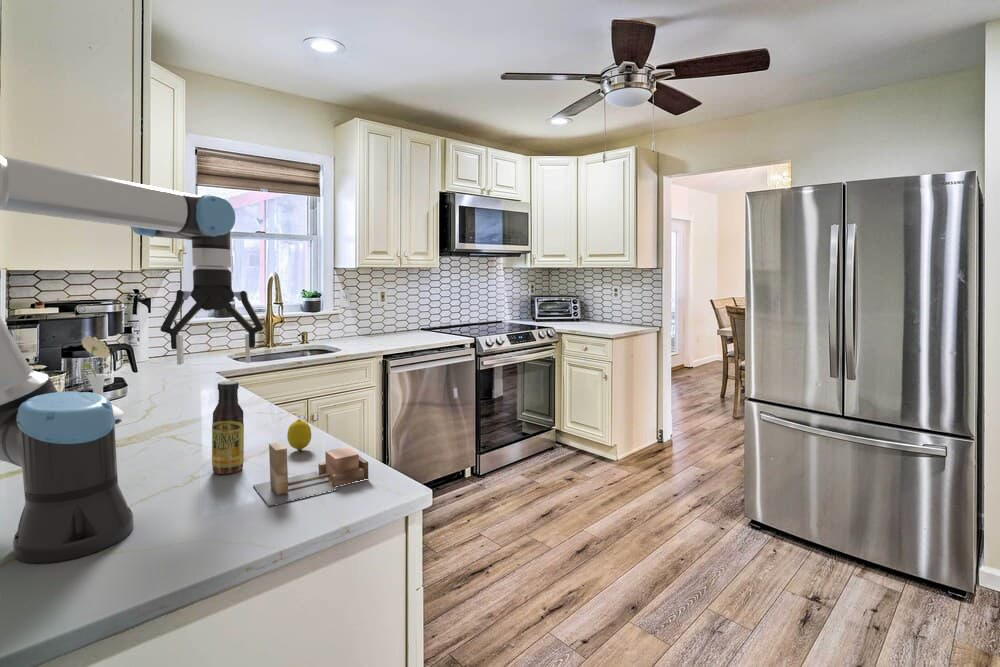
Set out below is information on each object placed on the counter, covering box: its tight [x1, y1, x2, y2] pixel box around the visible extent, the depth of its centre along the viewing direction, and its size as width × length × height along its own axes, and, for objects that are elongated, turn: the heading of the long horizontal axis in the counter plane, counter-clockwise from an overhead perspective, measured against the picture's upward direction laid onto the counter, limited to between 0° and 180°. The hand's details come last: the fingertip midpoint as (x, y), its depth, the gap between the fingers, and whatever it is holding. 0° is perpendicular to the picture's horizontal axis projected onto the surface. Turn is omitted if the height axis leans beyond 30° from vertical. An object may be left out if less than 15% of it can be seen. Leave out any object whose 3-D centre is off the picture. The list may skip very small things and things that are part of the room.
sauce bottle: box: [211, 380, 245, 475], centre depth 115 cm, size 6×6×20 cm
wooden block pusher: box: [268, 441, 360, 495], centre depth 109 cm, size 16×6×9 cm, turn 128°
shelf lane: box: [252, 455, 369, 507], centre depth 109 cm, size 20×12×4 cm, turn 128°
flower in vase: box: [81, 335, 125, 421], centre depth 151 cm, size 13×11×25 cm
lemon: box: [286, 418, 312, 452], centre depth 129 cm, size 6×6×8 cm
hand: (214, 363), depth 119 cm, fingers open, 13 cm apart
